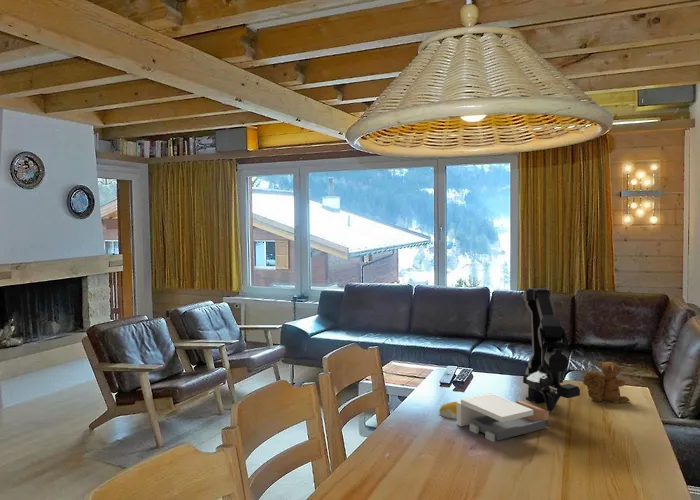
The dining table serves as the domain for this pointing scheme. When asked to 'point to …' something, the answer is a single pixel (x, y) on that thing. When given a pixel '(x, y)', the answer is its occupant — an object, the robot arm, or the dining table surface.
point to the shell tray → (514, 423)
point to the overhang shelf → (489, 411)
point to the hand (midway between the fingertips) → (550, 411)
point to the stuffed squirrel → (605, 383)
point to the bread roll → (449, 410)
